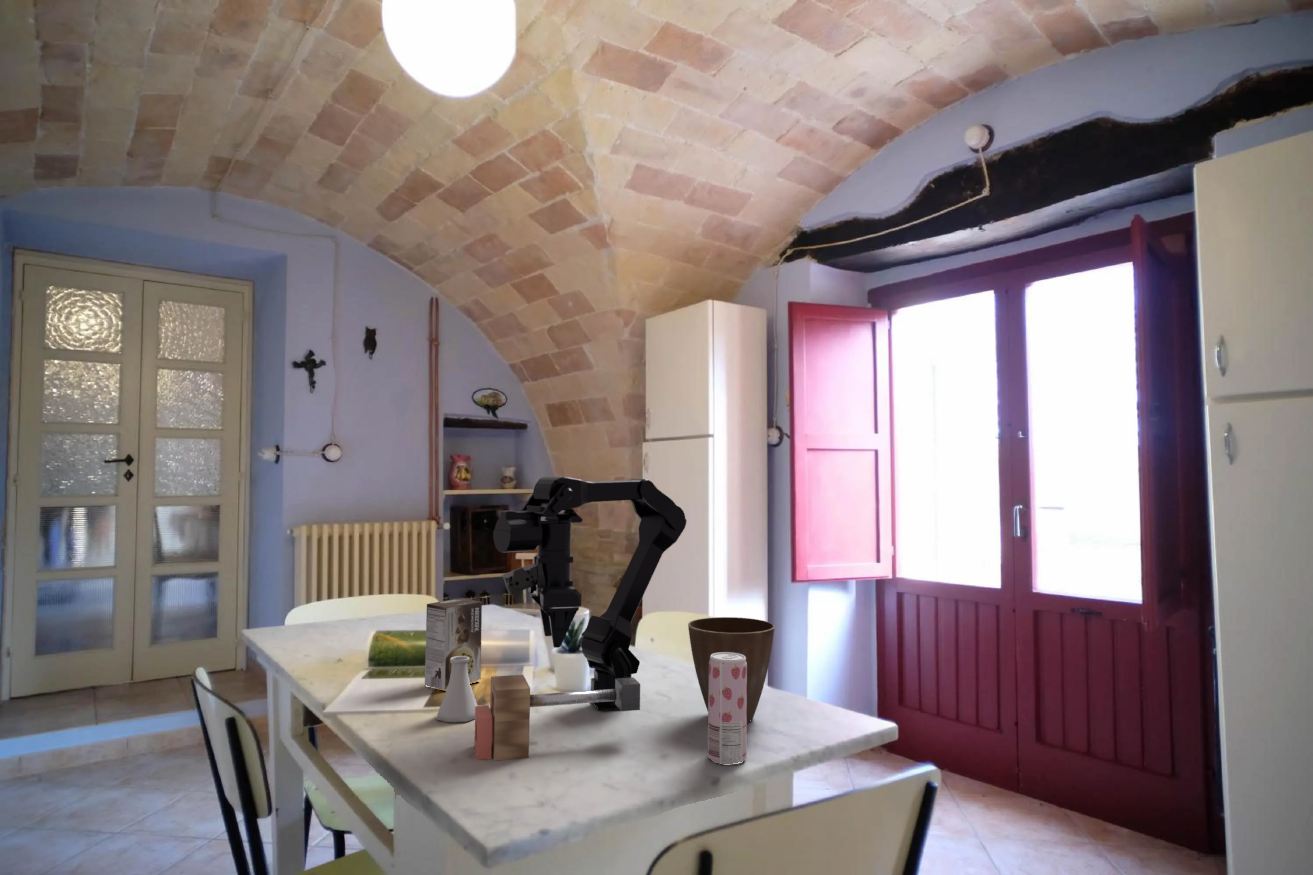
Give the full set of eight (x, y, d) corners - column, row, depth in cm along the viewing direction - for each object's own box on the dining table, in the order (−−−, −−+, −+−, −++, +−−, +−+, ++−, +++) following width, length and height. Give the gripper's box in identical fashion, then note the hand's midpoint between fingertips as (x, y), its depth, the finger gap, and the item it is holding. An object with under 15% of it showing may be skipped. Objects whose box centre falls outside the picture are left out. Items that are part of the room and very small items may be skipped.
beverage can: (748, 753, 117) (749, 652, 117) (743, 767, 111) (744, 661, 112) (710, 750, 118) (711, 650, 119) (704, 763, 112) (705, 658, 113)
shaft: (633, 702, 125) (633, 677, 125) (639, 709, 121) (640, 683, 122) (510, 711, 119) (511, 685, 120) (513, 719, 116) (514, 692, 116)
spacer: (487, 744, 119) (488, 705, 119) (491, 758, 113) (492, 716, 114) (474, 745, 119) (475, 706, 119) (477, 759, 113) (478, 717, 113)
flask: (468, 725, 128) (470, 664, 129) (428, 721, 130) (429, 661, 130) (486, 712, 135) (488, 654, 136) (448, 709, 137) (450, 651, 137)
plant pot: (675, 725, 130) (676, 628, 131) (701, 701, 144) (702, 613, 144) (763, 736, 125) (764, 635, 125) (781, 710, 139) (782, 620, 139)
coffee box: (460, 677, 158) (462, 597, 159) (481, 682, 154) (483, 600, 155) (422, 686, 151) (425, 602, 151) (444, 692, 147) (447, 606, 148)
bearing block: (521, 739, 122) (523, 674, 122) (528, 757, 114) (530, 688, 115) (489, 741, 120) (490, 676, 121) (494, 760, 113) (495, 690, 113)
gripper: (501, 545, 140) (498, 632, 139) (513, 556, 122) (510, 656, 121) (562, 544, 143) (560, 630, 143) (582, 554, 125) (581, 652, 125)
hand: (552, 641), depth 133 cm, fingers open, 9 cm apart
